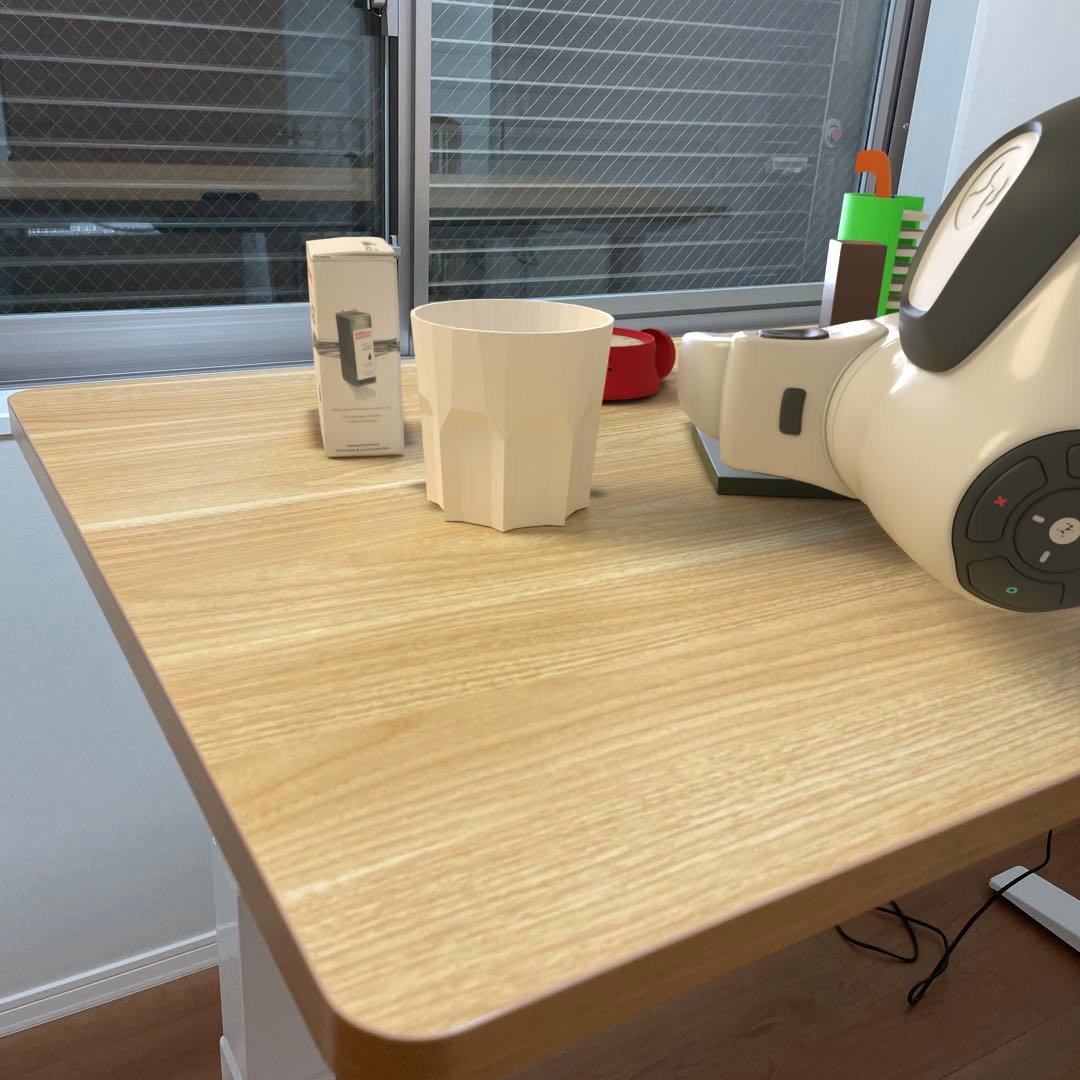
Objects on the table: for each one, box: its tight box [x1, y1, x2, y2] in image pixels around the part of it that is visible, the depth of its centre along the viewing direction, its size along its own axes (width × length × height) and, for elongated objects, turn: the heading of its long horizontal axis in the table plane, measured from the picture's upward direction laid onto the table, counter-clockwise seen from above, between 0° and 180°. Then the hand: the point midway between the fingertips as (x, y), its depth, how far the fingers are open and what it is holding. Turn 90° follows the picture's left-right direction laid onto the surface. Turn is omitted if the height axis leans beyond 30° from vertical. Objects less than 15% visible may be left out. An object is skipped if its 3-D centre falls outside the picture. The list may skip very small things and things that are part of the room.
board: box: [690, 422, 856, 500], centre depth 63 cm, size 13×12×1 cm
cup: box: [410, 298, 615, 533], centre depth 53 cm, size 10×10×10 cm
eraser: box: [817, 238, 888, 328], centre depth 60 cm, size 8×4×12 cm, turn 179°
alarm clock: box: [602, 326, 677, 401], centre depth 81 cm, size 10×6×15 cm
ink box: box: [305, 236, 405, 458], centre depth 63 cm, size 9×5×12 cm, turn 14°
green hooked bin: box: [836, 149, 931, 318], centre depth 96 cm, size 9×8×18 cm
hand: (837, 353), depth 61 cm, fingers closed on eraser, 2 cm apart
